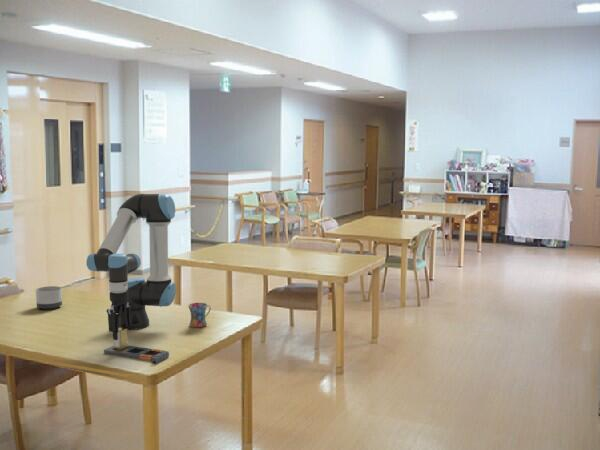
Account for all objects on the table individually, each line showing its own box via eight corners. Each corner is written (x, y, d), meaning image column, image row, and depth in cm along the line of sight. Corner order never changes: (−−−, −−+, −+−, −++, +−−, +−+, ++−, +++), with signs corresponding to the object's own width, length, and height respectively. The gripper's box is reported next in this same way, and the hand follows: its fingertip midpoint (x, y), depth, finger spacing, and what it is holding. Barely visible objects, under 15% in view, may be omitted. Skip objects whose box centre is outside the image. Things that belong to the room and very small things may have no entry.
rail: (103, 355, 264) (103, 349, 263) (118, 349, 272) (118, 343, 272) (155, 364, 254) (155, 357, 253) (168, 357, 262) (168, 351, 262)
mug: (195, 329, 302) (194, 308, 300) (184, 325, 308) (184, 304, 307) (216, 325, 310) (215, 304, 308) (205, 321, 316) (205, 300, 315)
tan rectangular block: (114, 350, 265) (113, 330, 264) (120, 347, 269) (119, 327, 268) (121, 351, 264) (121, 331, 262) (127, 349, 267) (127, 328, 266)
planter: (44, 304, 349) (43, 285, 348) (66, 305, 347) (65, 286, 346) (31, 310, 337) (31, 291, 335) (54, 311, 335) (53, 291, 334)
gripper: (112, 296, 253) (114, 352, 257) (138, 287, 269) (140, 340, 272) (97, 294, 256) (99, 350, 259) (124, 285, 272) (126, 338, 275)
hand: (120, 345), depth 266 cm, fingers closed on tan rectangular block, 4 cm apart
